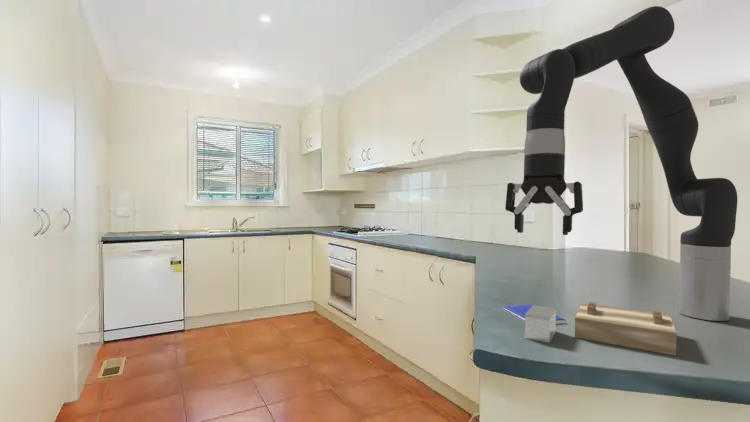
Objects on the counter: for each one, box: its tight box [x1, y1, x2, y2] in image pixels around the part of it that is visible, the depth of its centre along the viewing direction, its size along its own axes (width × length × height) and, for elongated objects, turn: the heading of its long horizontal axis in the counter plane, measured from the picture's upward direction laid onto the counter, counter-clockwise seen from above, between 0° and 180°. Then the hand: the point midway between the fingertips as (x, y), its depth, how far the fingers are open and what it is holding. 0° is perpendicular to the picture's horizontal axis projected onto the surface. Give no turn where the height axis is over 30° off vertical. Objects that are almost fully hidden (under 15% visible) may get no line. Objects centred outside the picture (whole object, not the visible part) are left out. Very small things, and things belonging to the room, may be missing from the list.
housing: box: [524, 304, 557, 344], centre depth 78 cm, size 8×4×5 cm, turn 147°
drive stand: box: [574, 301, 678, 356], centre depth 77 cm, size 14×16×6 cm
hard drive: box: [503, 304, 566, 325], centre depth 91 cm, size 2×8×12 cm
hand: (541, 233), depth 77 cm, fingers open, 8 cm apart
